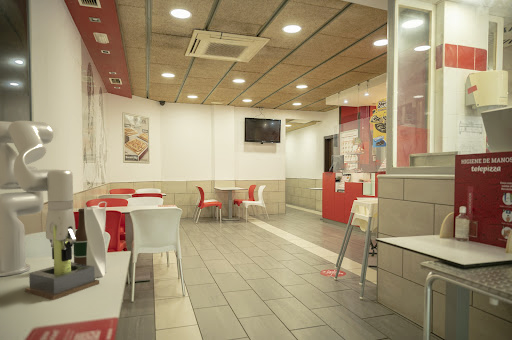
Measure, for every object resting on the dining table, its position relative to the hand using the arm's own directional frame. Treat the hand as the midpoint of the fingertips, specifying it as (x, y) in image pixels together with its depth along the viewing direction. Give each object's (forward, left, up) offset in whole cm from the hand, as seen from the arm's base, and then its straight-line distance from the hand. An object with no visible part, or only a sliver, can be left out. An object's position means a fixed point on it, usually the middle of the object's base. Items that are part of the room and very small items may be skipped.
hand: (62, 258), depth 113 cm
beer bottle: (-18, +20, -10) cm, 29 cm away
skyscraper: (-1, +14, -10) cm, 17 cm away
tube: (0, 0, -8) cm, 8 cm away
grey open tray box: (0, 0, -10) cm, 10 cm away
